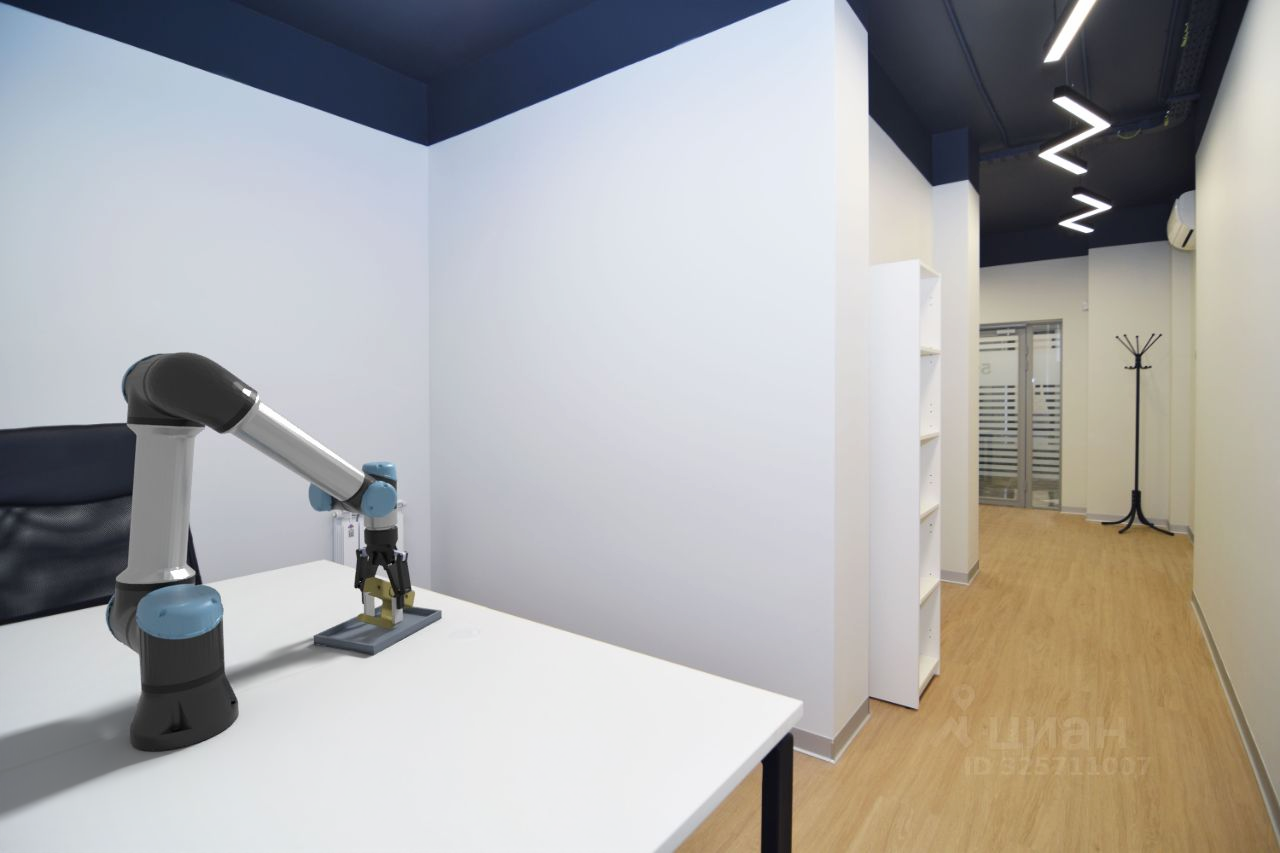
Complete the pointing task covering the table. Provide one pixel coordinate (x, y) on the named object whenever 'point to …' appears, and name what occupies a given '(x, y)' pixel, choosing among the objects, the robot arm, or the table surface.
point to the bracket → (384, 593)
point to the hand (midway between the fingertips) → (383, 619)
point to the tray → (376, 631)
